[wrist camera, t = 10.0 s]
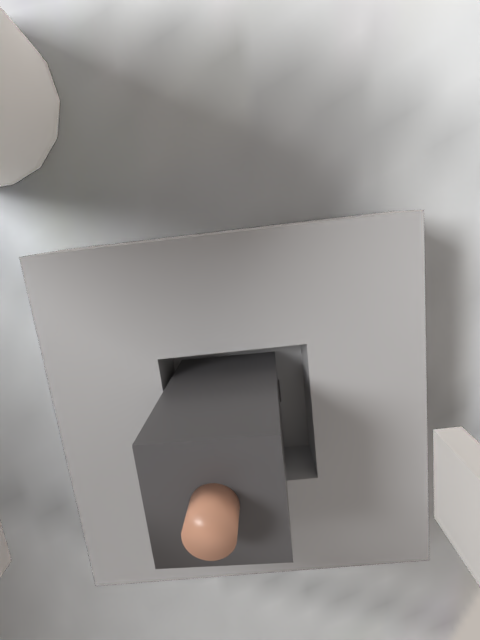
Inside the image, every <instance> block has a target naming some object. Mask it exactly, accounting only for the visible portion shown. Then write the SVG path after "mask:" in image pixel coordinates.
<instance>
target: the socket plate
mask: <svg viewBox="0 0 480 640" xmlns="http://www.w3.org/2000/svg"><path fill="white" fill-rule="evenodd" d="M19 259H20V263H21V268H22V272H23V276H24V281H25V285H26V289H27V294H28V298H29V302H30V306H31V311H32V315H33V319H34V324H35V328H36V332H37V337H38V341H39V345H40V349H41V354H42V358H43V362H44V367H45V371H46V375H47V379H48V384H49V388H50V392H51V397H52V401H53V405H54V410H55V414H56V418H57V422H58V427H59V431H60V435H61V440H62V444H63V448H64V452H65V457H66V461H67V465H68V470H69V474H70V478H71V483H72V487H73V491H74V495H75V500H76V504H77V508H78V513H79V517H80V521H81V525H82V530H83V534H84V538H85V543H86V547H87V551H88V556H89V560H90V564H91V568H92V573H93V577H94V581H95V586H103V585H116V584H129V583H142V582H155V581H168V580H181V579H194V578H207V577H219V576H232V575H245V574H258V573H271V572H284V571H297V570H310V569H323V568H335V567H348V566H361V565H374V564H387V563H400V562H413V561H426V560H429V511H428V444H427V377H426V310H425V244H424V210H410V211H390V212H381V213H373V214H364V215H355V216H347V217H338V218H330V219H321V220H313V221H304V222H296V223H287V224H279V225H270V226H261V227H253V228H244V229H236V230H227V231H219V232H210V233H202V234H193V235H185V236H176V237H167V238H159V239H150V240H142V241H133V242H125V243H116V244H108V245H99V246H91V247H82V248H74V249H65V250H58V251H52V252H46V253H40V254H35V255H29V256H23V257H19ZM264 352H275V358H276V368H277V378H278V389H279V399H280V409H281V419H282V429H283V439H284V452H285V464H286V477H287V489H288V502H289V514H290V526H291V539H292V551H293V562H292V563H272V564H252V565H231V566H211V567H190V568H170V569H155V564H154V559H153V554H152V548H151V543H150V538H149V533H148V528H147V522H146V517H145V512H144V507H143V501H142V496H141V491H140V486H139V480H138V475H137V470H136V465H135V459H134V454H133V449H132V444H133V443H134V441H135V439H136V438H137V436H138V434H139V432H140V431H141V429H142V427H143V425H144V424H145V422H146V420H147V419H148V417H149V415H150V413H151V412H152V410H153V408H154V407H155V405H156V403H157V401H158V400H159V398H160V396H161V394H162V393H163V391H164V389H165V388H166V386H167V384H168V382H169V381H170V379H171V377H172V375H173V374H174V372H175V370H176V369H177V367H178V365H179V363H180V362H181V360H186V359H197V358H208V357H219V356H230V355H241V354H253V353H264Z"/></svg>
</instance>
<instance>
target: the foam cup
mask: <svg viewBox="0 0 480 640" xmlns="http://www.w3.org/2000/svg"><path fill="white" fill-rule="evenodd" d="M59 108H60V99H59V96H58V93H57V90H56V87H55V84H54V82H53V79H52V76H51V73H50V70H49V67H48V64H47V62H46V61H45V60H44V59H43V58H42V56H41V54H40V53H39V52H38V51H37V50H36V48H35V47H34V46H33V45H32V44H31V42H30V41H29V40H28V39H27V38H26V36H25V35H24V34H23V33H22V32H21V31H20V29H19V28H18V27H17V26H16V25H15V23H14V22H13V21H12V20H11V19H10V17H9V16H8V15H7V14H6V13H5V12H4V10H3V9H2V8H1V7H0V187H1V186H6V185H13V184H15V183H17V182H18V181H20V180H21V179H23V178H25V177H26V176H28V175H29V174H31V173H33V172H34V171H36V170H37V169H39V168H41V166H42V164H43V162H44V160H45V159H46V157H47V155H48V153H49V152H50V150H51V148H52V146H53V145H54V143H55V141H56V139H57V136H58V122H59Z"/></svg>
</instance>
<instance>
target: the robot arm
mask: <svg viewBox="0 0 480 640" xmlns="http://www.w3.org/2000/svg"><path fill="white" fill-rule="evenodd" d="M433 469H434V518H435V519H436V521H437V523H438V524H439V526H440V527H441V529H442V530H443V532H444V533H445V535H446V536H447V538H448V539H449V541H450V542H451V544H452V545H453V547H454V548H455V550H456V551H457V553H458V554H459V556H460V558H461V559H462V561H463V562H464V564H465V565H466V567H467V568H468V570H469V571H470V573H471V574H472V576H473V577H474V579H475V580H476V582H477V583H478V585H479V586H480V443H479V442H478V441H477V440H476V439H475V438H474V437H473V436H471V435H470V434H469V433H468V432H467V431H466V430H465V429H464V428H463V427H462V426H461V427H451V428H442V429H433ZM11 561H12V560H11V556H10V553H9V549H8V546H7V542H6V539H5V535H4V532H3V528H2V525H1V521H0V578H1V576H2V575H3V573H4V572H5V570H6V569H7V567H8V566H9V564H10V563H11Z"/></svg>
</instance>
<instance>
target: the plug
mask: <svg viewBox="0 0 480 640" xmlns="http://www.w3.org/2000/svg"><path fill="white" fill-rule="evenodd" d="M132 449H133V454H134V459H135V465H136V470H137V475H138V480H139V486H140V491H141V496H142V501H143V507H144V512H145V517H146V522H147V528H148V533H149V538H150V543H151V548H152V554H153V559H154V564H155V569H170V568H190V567H211V566H231V565H252V564H272V563H292V562H293V551H292V539H291V526H290V514H289V502H288V489H287V477H286V464H285V452H284V439H283V429H282V419H281V409H280V399H279V389H278V378H277V368H276V358H275V352H264V353H253V354H241V355H230V356H219V357H208V358H197V359H186V360H181V362H180V363H179V365H178V367H177V369H176V370H175V372H174V374H173V375H172V377H171V379H170V381H169V382H168V384H167V386H166V388H165V389H164V391H163V393H162V394H161V396H160V398H159V400H158V401H157V403H156V405H155V407H154V408H153V410H152V412H151V413H150V415H149V417H148V419H147V420H146V422H145V424H144V425H143V427H142V429H141V431H140V432H139V434H138V436H137V438H136V439H135V441H134V443H133V444H132Z"/></svg>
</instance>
